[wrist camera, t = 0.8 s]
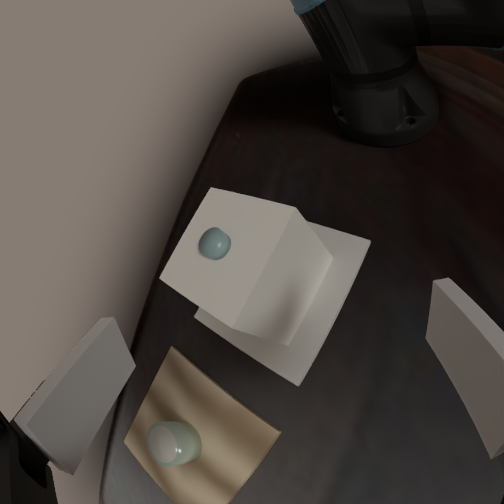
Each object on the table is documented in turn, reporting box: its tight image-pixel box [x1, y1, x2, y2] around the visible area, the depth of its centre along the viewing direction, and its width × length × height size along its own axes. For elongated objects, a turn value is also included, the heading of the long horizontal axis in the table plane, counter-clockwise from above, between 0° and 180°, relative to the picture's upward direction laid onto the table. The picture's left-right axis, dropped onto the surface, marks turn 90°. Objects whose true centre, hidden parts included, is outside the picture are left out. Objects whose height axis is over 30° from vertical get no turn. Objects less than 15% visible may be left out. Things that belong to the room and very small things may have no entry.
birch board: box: [124, 346, 282, 504], centre depth 29 cm, size 18×18×1 cm
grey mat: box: [194, 221, 371, 386], centre depth 32 cm, size 16×16×1 cm
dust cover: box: [159, 188, 333, 346], centre depth 28 cm, size 10×10×11 cm
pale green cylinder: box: [147, 421, 202, 467], centre depth 27 cm, size 6×6×4 cm
